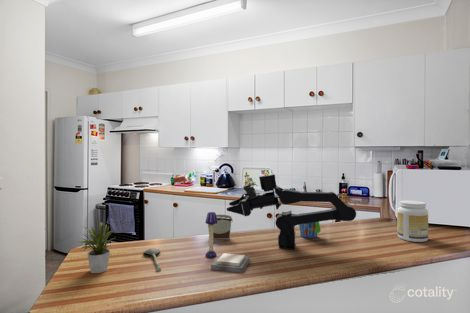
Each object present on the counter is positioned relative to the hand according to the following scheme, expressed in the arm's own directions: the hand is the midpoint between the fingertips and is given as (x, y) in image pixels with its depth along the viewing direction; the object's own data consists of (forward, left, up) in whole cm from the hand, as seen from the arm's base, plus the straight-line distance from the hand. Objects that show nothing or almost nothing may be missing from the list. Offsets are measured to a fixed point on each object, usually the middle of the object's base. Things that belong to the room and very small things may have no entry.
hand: (228, 206), depth 127 cm
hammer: (+21, +25, -17) cm, 37 cm away
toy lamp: (+2, +15, -17) cm, 23 cm away
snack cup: (-33, -22, -17) cm, 43 cm away
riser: (-8, +22, -16) cm, 29 cm away
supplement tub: (-79, -31, -17) cm, 86 cm away
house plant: (+35, +38, -17) cm, 54 cm away
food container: (+7, -10, -17) cm, 20 cm away
